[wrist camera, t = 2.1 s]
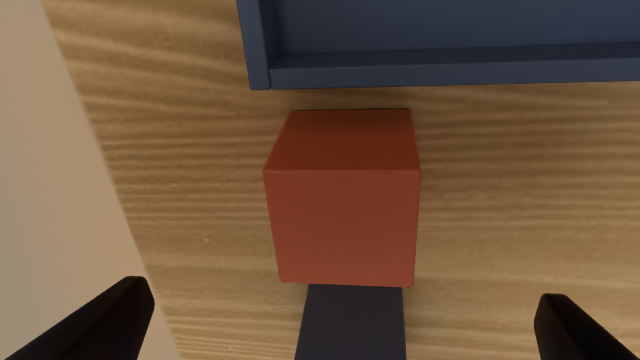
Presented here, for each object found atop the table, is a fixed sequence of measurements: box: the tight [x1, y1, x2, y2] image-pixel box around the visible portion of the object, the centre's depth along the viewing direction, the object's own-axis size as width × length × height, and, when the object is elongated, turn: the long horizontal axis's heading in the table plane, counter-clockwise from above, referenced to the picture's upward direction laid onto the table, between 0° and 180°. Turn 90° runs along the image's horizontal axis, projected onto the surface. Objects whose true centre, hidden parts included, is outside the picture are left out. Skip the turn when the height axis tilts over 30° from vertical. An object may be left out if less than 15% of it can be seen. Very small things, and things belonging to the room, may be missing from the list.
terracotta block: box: [262, 109, 421, 288], centre depth 13 cm, size 4×4×4 cm
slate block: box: [294, 283, 406, 360], centre depth 17 cm, size 4×4×4 cm
